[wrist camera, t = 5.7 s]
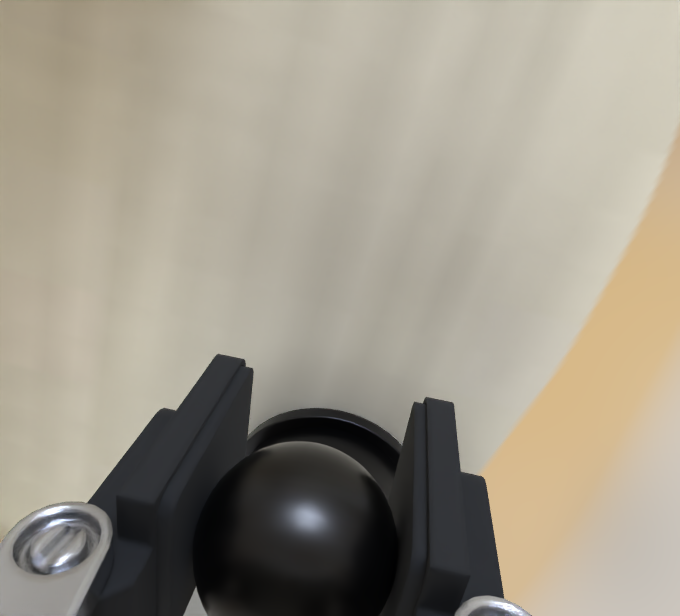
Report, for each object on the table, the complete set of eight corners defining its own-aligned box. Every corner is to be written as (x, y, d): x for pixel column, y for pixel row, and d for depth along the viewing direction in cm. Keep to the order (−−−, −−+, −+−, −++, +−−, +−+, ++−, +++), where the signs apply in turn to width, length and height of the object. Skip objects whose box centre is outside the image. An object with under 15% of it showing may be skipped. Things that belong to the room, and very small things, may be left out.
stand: (138, 365, 21) (52, 452, 16) (555, 457, 20) (598, 580, 15) (138, 558, 26) (71, 671, 21) (477, 641, 25) (490, 781, 20)
